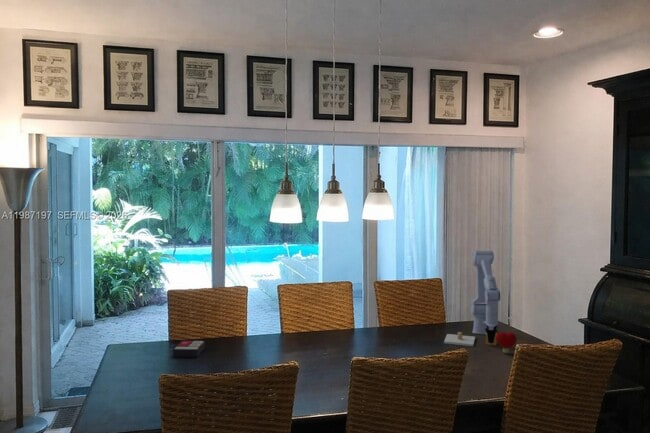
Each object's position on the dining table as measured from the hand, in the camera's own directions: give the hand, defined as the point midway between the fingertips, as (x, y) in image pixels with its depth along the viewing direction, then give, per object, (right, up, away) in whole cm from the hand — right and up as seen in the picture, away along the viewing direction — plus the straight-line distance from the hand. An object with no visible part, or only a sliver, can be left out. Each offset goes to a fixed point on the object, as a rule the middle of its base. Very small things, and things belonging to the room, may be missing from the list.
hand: (491, 340), depth 264 cm
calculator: (-145, -2, -17) cm, 146 cm away
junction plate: (-14, -1, +4) cm, 15 cm away
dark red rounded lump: (+2, -3, -15) cm, 16 cm away
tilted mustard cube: (0, -1, 0) cm, 1 cm away
